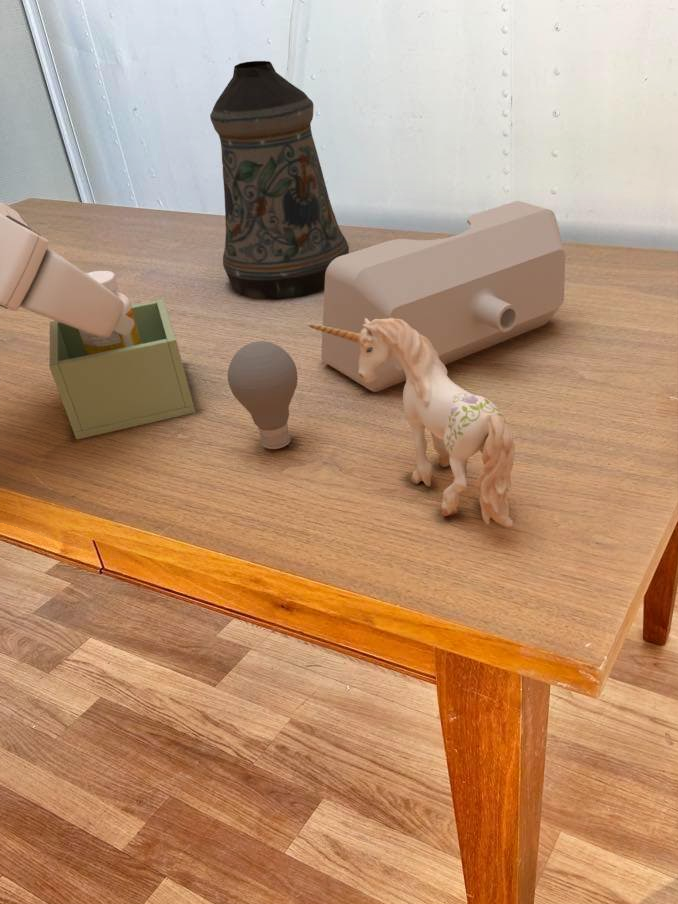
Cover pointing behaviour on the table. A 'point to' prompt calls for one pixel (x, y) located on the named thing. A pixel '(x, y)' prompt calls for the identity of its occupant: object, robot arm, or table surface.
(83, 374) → the bin
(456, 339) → the tank
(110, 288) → the supplement bottle
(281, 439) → the light bulb
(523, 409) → the table surface
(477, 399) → the unicorn figurine
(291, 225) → the brown decorated vase
